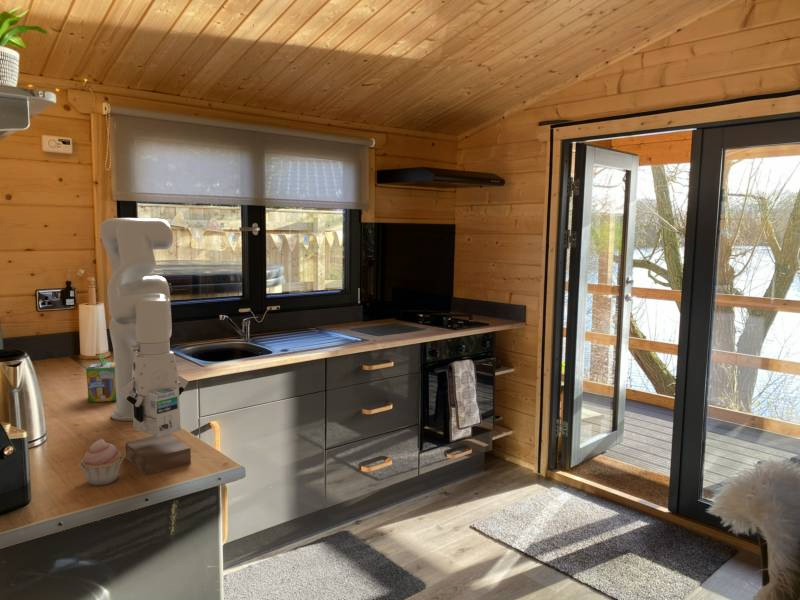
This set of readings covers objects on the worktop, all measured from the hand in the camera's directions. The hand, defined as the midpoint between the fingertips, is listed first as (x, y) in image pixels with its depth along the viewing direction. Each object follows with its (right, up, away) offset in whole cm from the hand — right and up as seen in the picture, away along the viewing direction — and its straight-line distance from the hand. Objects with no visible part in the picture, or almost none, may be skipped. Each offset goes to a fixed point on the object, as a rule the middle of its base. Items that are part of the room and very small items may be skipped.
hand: (156, 416), depth 157 cm
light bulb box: (0, -4, 0) cm, 4 cm away
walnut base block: (0, -11, +2) cm, 11 cm away
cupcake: (-8, -13, -10) cm, 19 cm away
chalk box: (-37, -4, +53) cm, 65 cm away
